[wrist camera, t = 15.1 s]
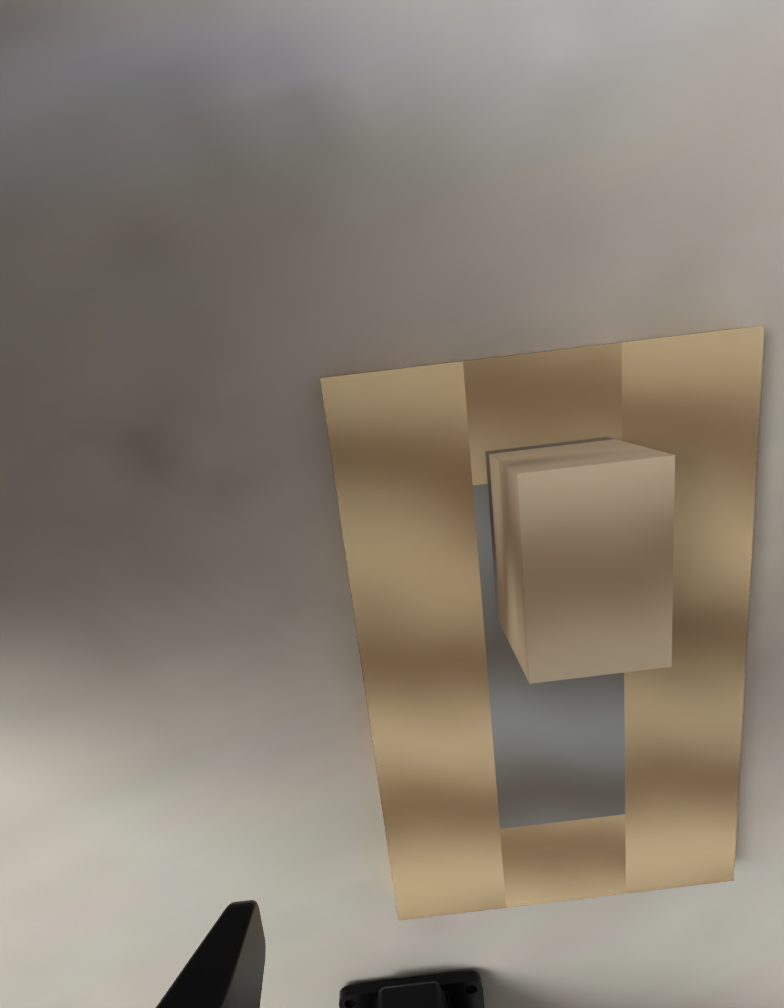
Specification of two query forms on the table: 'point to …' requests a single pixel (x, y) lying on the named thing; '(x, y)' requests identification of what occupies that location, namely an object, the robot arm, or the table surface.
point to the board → (489, 656)
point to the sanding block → (583, 556)
